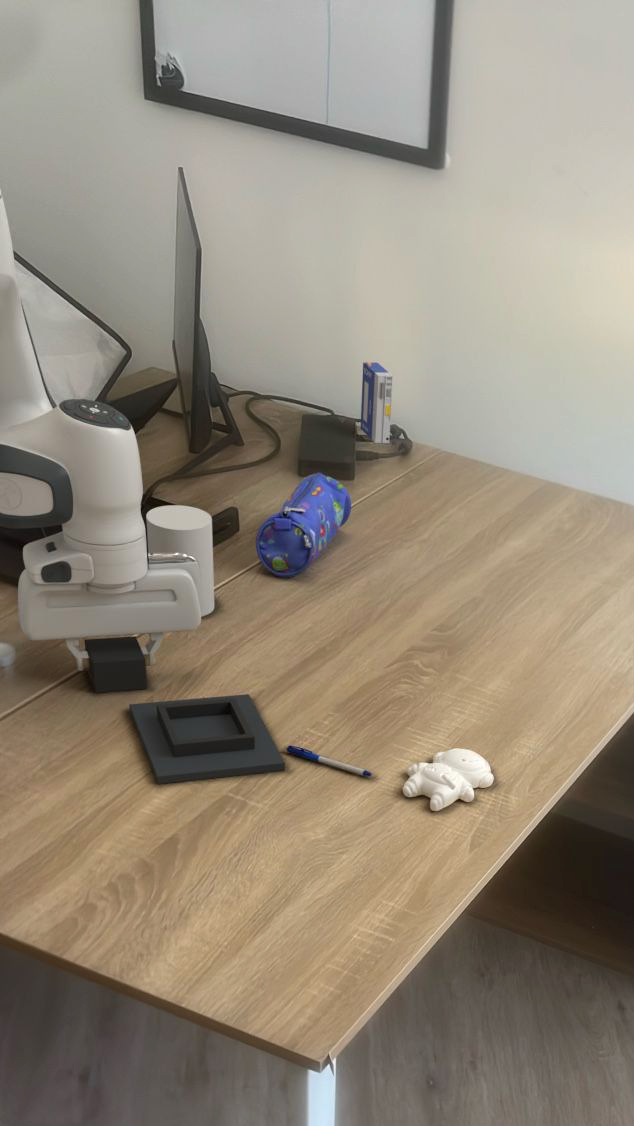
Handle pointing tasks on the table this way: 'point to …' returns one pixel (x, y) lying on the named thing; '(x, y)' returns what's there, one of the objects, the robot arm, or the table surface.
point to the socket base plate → (205, 738)
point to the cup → (185, 543)
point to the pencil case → (303, 525)
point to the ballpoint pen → (325, 760)
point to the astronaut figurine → (448, 777)
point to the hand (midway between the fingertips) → (115, 666)
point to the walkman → (376, 402)
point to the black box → (116, 664)
